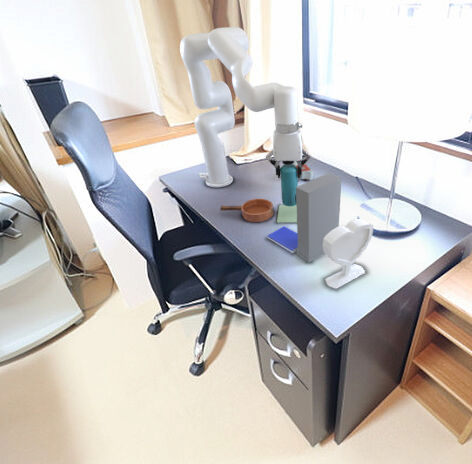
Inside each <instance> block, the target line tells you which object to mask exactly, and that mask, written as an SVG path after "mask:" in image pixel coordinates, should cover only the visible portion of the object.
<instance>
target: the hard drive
mask: <svg viewBox="0 0 472 464" xmlns="http://www.w3.org/2000/svg"><path fill="white" fill-rule="evenodd" d="M267 239H268V240H269V241H271V242H273V243H275V244H276V245H277V246H280V247H282V248H283V249H285V250H287V251H288V252H290V253H291V254H295V253H296V252H297V251H298V235H297V231H294V230H292V229H290V228H288V227H286V226H282V227H280V228H278V229H277V230H275V231H272V232H271V233H269V234H268V235H267Z"/></svg>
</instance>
